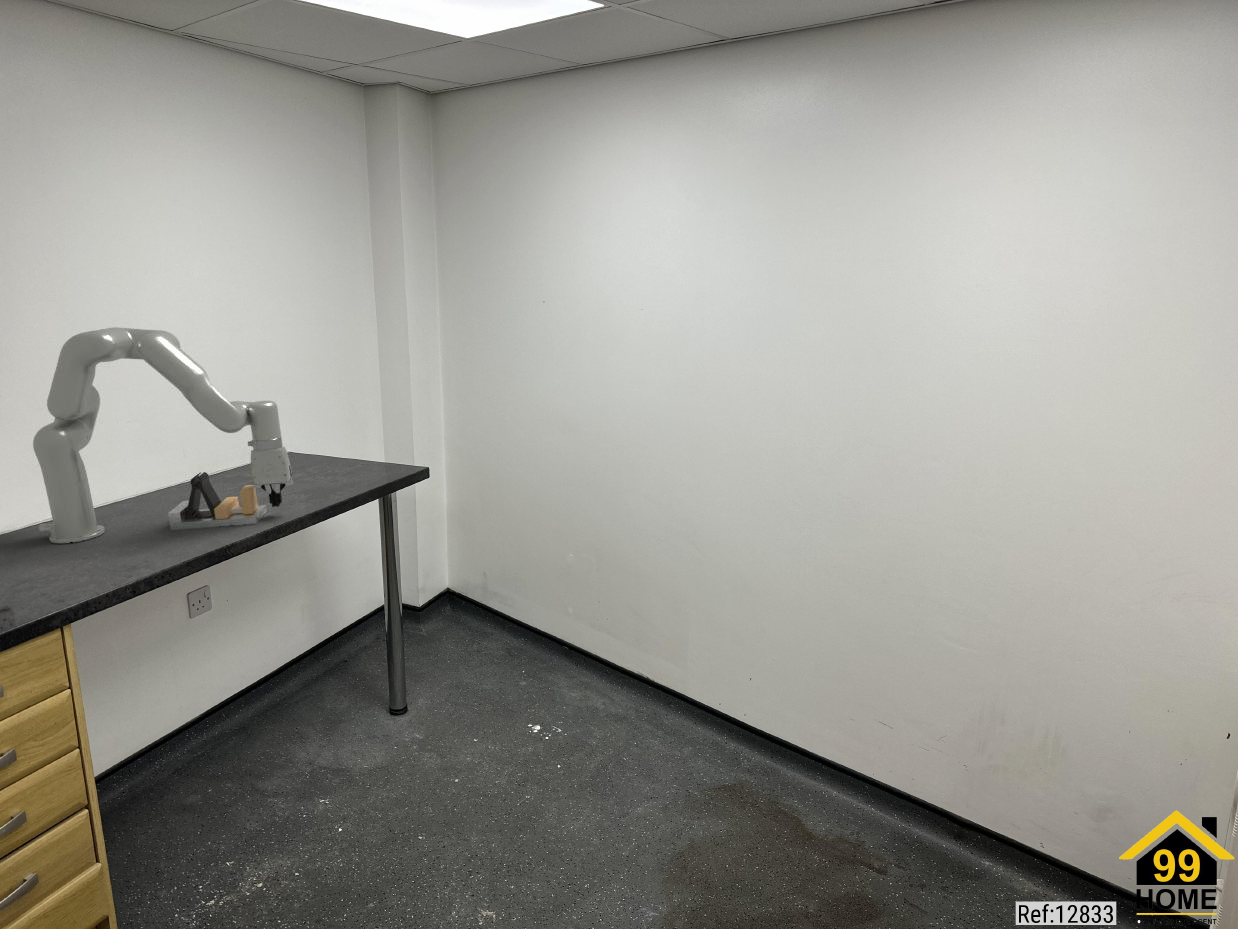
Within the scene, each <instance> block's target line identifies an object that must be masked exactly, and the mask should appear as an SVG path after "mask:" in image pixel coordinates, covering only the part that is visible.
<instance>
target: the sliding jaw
mask: <svg viewBox="0 0 1238 929" xmlns="http://www.w3.org/2000/svg"><path fill="white" fill-rule="evenodd" d="M239 495H240V502H241V506H240V503H239V497H238V496H226V497H225V499H223V501H221V503H220V504H219V505H218V506H217V507H216V508H215V509H214V512H215V518H216V519H227V518H228V517H229V516H230V515H231V514H235V513H243V514H253V513H254V512H255V510H256V509H257V508H258V505H259V503H258V498H257V490H256V488H255V487H254V486H253V484H246V485H244V486H243V487H242V488H241V489H240V490H239Z"/></svg>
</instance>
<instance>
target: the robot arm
mask: <svg viewBox="0 0 1238 929" xmlns="http://www.w3.org/2000/svg"><path fill="white" fill-rule="evenodd" d="M121 359H126V360H127V359H129V360H130V359H131V360H142V361H144V362H145V363H147V364H148V365H149V366H150V367H151V368H152V369H154V370H155V371H156V372H157V373H159V374H160V375H161V376H162V377H163V378H165V379H166V380H167V381H168V382H169V383H170V384H172V385H173V386H174V387H175V388H176V389H177V390H178V391H179V392H180V393H181V394H182V396H183V397H184V398H185V399H186V400H187V401H188V402H189V403H190V404H191V406H192V407H193V408H194V409H195V411H197V412H198V413H199V414H200V415H201V416H202V417H203V418H204V419H205V420H207V421H208V422H209V423H211V424H212V425H213V426H214V427H215V428H217V429H218V430H220V431H222V432H223V433H227V434H235V433H238V432H240V431H241V430H242V429H244V428H245V427H248V426H250V430H251V436H252V439H251V440H250V441H247V445H248V447H252V448H253V449H251V450H250V474H251V475H250V476H251V481H252V485H253V486H254V487H255V489H256V488H257V489H262V490H264V491H265V492H266V494H268V499H269V504H271V507H272V508H275V507H279V506H280V505H281V503H283V499H282V492H281V491H282V490H283V489H284V488H286V487H289V486H293V484H294V481H293V478H292V476H293V474H292V473H293V472H292V467H291V463H290V458H289V455H288V452H287V448H286V446H283V440H282V433H281V432H282V431H281V424H280V418H279V412H278V411H279V409H278V404H277V403H276V402H275V401H273V400H260V401H259V400H258V401H240V400H236V401H235V400H234V401H228V400H227V399H226V398H225V397H224V396H223V395H221V394H220V393H219V392H218V391H217V389H216V388H215V387H214V385H213V384H212V383H211V381H210V377H209V376H208V374H207V371H206V370H205V369H204V367H202V366H201V365H200V364H199V363H198V362H196V360H194V359H193V358H192V357H190V355H189V354H187V353H186V352H185V351H184V350H183V349H181V343H180V341H179V339H178V338H177V337H176V335H174V334H173V333H171V332H170V331H166V330H162V329H161V330H160V329H142V328H131V327H130V328H129V327H107V328H101V329H95V330H91V331H85V332H84V331H83V332H80V333H78V334H77V333H76V334H74V335H72V336H71V337H70V338H69V339H67V340H66V341H65V342H64V344H63V346H62V347H61V349H60V352H59V355H58V359H57V364H56V368H55V370H54V374H53V377H52V381H51V385H50V389H49V393H48V396H47V400H46V407H47V411H48V412H49V413H50V415H51V416H53V417H54V421H53V422H51V423H48V424H46V425H45V426H43V427H41V428H40V429H39V430H38V431H37V432H36V433H35V435H34V437H33V441H32V448H33V451H34V454H35V456H36V459H37V461H38V464H39V467H40V471H41V473H42V478H43V482H44V486H45V491H46V495H47V500H48V504H49V510H50V514H51V518H52V522H51V523H41V524H39V526H38V530H39V533H40V534H41V533H48V532H49V533H50V535H49V541H50V542H51V543H53V544H71V543H70V542H73V543H78V542H83V540H84V541H88V540H92V539H93V538H94V537H95V538H96V537H99V536H101V535H103V534H104V533H105V532H106V529H105V526H104V525H101V524H100V525H99V524H97V518H96V514H95V509H94V504H93V498H92V494H91V489H90V484H89V480H88V475H87V470H86V467H85V464H84V461H83V459H82V456H81V455H80V451H81V450H83V449H84V448H86V446H88V444H90V441H91V440H92V436H93V432H94V430H95V426H96V422H97V418H98V413H99V410H100V406H101V396H100V393H99V391H98V390H97V388H96V387H95V386H94V385H93V383H94V380H95V376H96V367H97V365H98V364H100V363H111V362H114V361H118V360H121ZM190 404H189V405H190ZM273 485H275V489H274V487H273Z"/></svg>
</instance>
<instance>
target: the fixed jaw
mask: <svg viewBox="0 0 1238 929" xmlns="http://www.w3.org/2000/svg"><path fill="white" fill-rule="evenodd" d="M188 503H189V500H183V501H181V502H180V503H179V504H177V505H176V506H175V507H174V508H173V509H172V510H170V511H169V512H168V513H167V514H168V515H167V516H168V521H169V524H170V523H182V522H183V521H184V520H185V516H186V511H187V507H188Z"/></svg>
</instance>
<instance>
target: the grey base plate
mask: <svg viewBox="0 0 1238 929" xmlns="http://www.w3.org/2000/svg"><path fill="white" fill-rule="evenodd" d="M199 511H209V508H204V509H199ZM267 512H268V508H267V504H261V505H260V504H258V508H257V509H256V510H255V512H254V513H253V514H243V513H235V514H231V515H230V516H229V517H228V518H227V519H216V518H215V517H209V518H203V517H202V518H195V519H185V520H184V521H183V522H182V523H170V522H169V527H170V531H177V530H178V531H179V530H193V529H205V527H207V528H219V526H221V527H230V525H234V526H243V524H247V525H256V524H258V523H259V522H260V521H261V519H262V518H263V517H264V516H265V514H266V513H267ZM263 515H264V516H263ZM257 522H258V523H257Z"/></svg>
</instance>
